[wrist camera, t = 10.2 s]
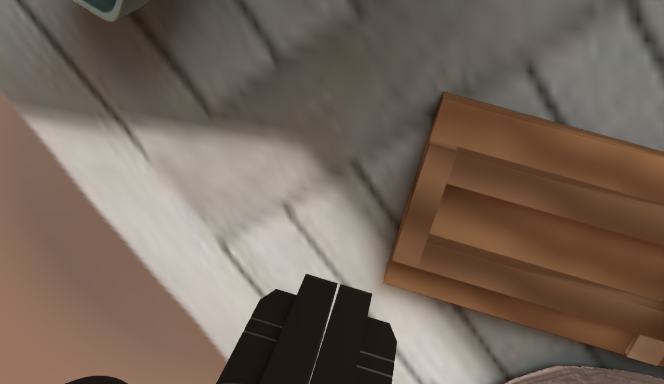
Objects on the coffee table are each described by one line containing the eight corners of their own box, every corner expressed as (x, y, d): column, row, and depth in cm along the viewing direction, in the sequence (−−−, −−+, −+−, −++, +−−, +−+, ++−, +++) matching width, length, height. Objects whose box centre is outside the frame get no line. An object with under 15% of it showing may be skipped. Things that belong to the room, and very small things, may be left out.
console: (443, 91, 42) (443, 103, 39) (833, 198, 40) (866, 220, 37) (385, 269, 49) (381, 292, 46) (716, 368, 47) (735, 399, 44)
